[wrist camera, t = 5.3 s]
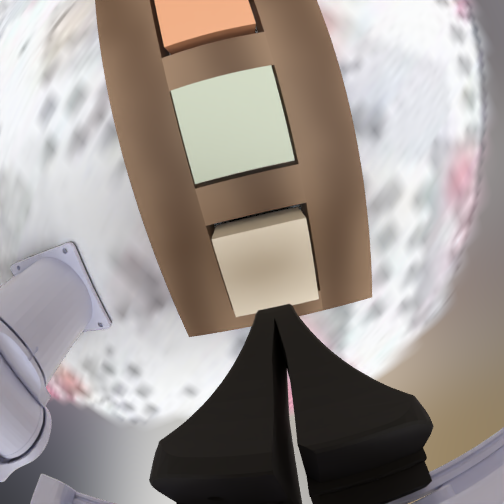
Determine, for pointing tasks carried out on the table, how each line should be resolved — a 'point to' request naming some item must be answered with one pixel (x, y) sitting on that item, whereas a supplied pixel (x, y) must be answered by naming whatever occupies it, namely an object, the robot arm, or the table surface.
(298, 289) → the cream button
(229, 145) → the sage button
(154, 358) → the table surface
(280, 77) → the button panel
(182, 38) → the terracotta button
